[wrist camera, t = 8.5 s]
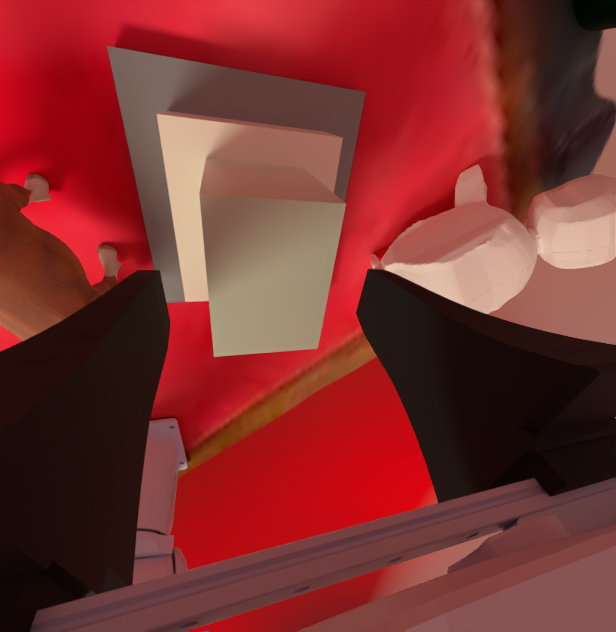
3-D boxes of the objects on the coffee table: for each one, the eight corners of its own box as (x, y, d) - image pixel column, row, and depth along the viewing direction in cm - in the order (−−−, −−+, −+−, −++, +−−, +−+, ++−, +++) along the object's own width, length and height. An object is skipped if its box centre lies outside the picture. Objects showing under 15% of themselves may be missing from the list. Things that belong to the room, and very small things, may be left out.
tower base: (323, 290, 24) (339, 320, 20) (163, 294, 20) (153, 330, 17) (358, 92, 16) (392, 91, 13) (113, 48, 13) (80, 34, 10)
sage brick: (291, 282, 18) (317, 348, 13) (214, 283, 16) (214, 356, 12) (303, 167, 14) (346, 203, 9) (205, 158, 13) (199, 193, 8)
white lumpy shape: (396, 284, 29) (582, 217, 22) (409, 355, 24) (661, 293, 17) (360, 219, 24) (590, 105, 17) (366, 290, 18) (707, 164, 12)
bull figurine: (-38, 45, 12) (-330, -13, 5) (158, 295, 20) (132, 385, 14) (-141, 81, 12) (-556, 65, 5) (100, 317, 20) (47, 417, 14)
